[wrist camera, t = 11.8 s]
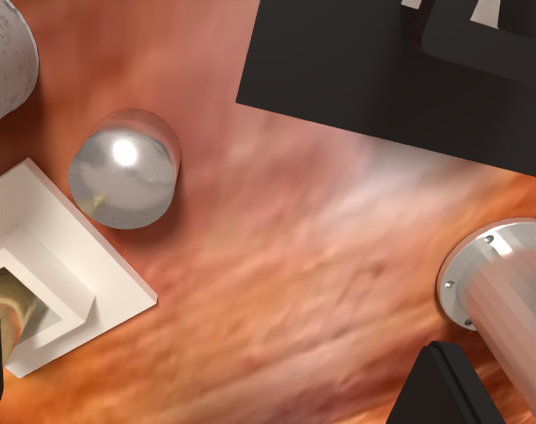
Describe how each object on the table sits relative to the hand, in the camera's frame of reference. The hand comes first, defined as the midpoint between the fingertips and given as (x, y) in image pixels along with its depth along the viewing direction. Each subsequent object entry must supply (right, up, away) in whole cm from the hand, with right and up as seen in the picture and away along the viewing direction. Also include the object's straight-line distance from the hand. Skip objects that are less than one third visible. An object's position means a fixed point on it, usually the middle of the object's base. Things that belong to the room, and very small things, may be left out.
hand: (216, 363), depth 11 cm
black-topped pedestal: (+15, +21, +22) cm, 34 cm away
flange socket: (-20, -2, +31) cm, 37 cm away
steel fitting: (-9, +8, +26) cm, 29 cm away
